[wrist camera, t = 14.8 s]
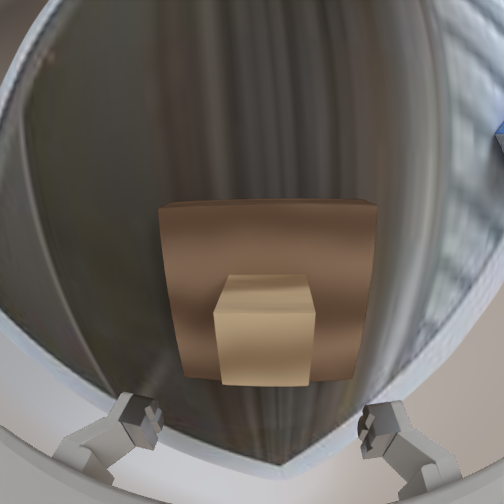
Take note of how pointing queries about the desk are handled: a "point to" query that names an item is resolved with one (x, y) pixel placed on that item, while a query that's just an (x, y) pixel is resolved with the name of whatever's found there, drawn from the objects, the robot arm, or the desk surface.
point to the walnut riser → (270, 270)
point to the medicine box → (500, 136)
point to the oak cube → (265, 330)
